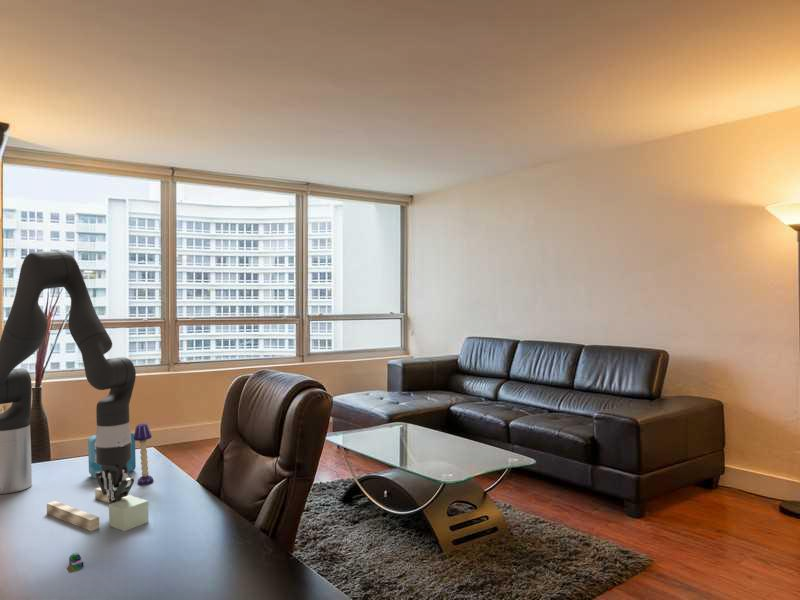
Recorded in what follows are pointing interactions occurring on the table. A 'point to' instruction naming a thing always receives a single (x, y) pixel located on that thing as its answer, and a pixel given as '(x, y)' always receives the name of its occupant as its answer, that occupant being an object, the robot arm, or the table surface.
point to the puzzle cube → (75, 562)
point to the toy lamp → (143, 452)
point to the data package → (97, 468)
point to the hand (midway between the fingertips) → (115, 513)
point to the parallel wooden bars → (78, 512)
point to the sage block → (128, 513)
